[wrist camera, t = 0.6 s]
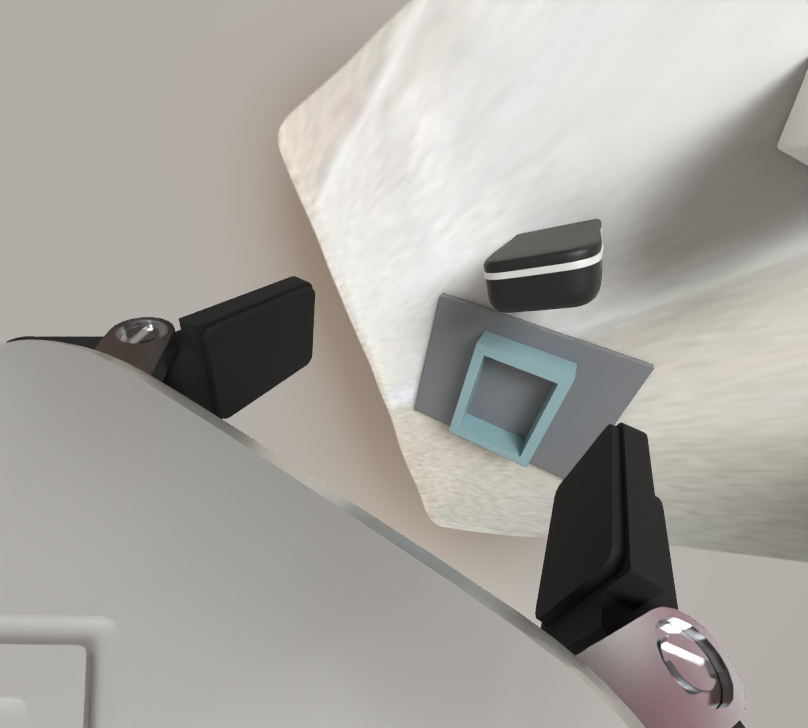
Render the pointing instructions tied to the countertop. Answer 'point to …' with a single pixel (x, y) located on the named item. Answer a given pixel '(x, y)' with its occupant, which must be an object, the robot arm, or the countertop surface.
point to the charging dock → (522, 385)
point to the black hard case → (547, 268)
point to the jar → (797, 127)
